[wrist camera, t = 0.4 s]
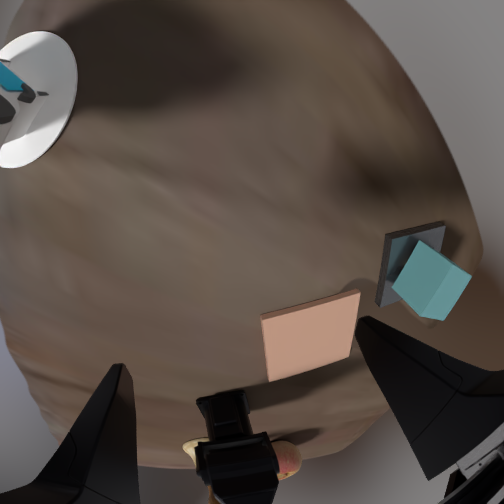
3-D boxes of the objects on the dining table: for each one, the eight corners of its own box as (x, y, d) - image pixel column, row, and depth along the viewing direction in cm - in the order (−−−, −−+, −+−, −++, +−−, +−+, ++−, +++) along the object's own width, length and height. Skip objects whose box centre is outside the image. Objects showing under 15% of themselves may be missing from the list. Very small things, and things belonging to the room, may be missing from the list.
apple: (242, 451, 44) (251, 484, 37) (275, 432, 42) (288, 469, 35) (271, 453, 48) (281, 484, 41) (302, 436, 46) (316, 468, 40)
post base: (425, 282, 32) (453, 307, 27) (374, 301, 31) (402, 333, 26) (439, 221, 28) (474, 243, 23) (385, 234, 27) (422, 262, 21)
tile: (346, 352, 34) (348, 356, 34) (267, 377, 33) (269, 381, 32) (356, 288, 29) (360, 292, 28) (260, 314, 27) (262, 320, 27)
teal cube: (442, 254, 28) (471, 276, 23) (418, 295, 30) (443, 320, 25) (419, 240, 26) (452, 264, 21) (391, 287, 28) (419, 316, 23)
